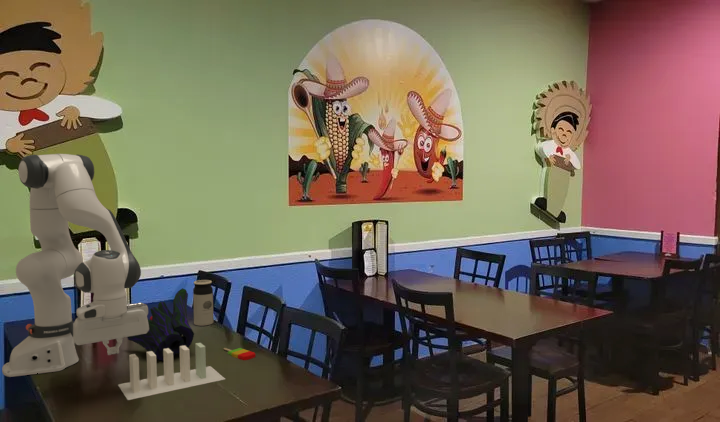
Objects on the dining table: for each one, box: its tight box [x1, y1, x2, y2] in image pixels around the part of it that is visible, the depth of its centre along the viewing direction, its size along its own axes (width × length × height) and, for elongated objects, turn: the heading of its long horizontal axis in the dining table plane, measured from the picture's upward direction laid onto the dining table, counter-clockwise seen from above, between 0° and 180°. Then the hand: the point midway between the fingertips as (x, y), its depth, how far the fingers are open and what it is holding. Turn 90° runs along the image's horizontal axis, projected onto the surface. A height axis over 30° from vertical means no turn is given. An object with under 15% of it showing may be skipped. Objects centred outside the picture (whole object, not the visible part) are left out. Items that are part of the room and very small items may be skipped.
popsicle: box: [223, 347, 256, 361], centre depth 206 cm, size 6×15×2 cm, turn 50°
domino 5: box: [194, 342, 207, 379], centre depth 183 cm, size 2×5×10 cm, turn 33°
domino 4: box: [179, 345, 191, 382], centre depth 181 cm, size 2×5×10 cm, turn 34°
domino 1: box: [128, 353, 140, 393], centre depth 172 cm, size 2×5×10 cm, turn 33°
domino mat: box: [117, 365, 226, 401], centre depth 179 cm, size 29×14×1 cm, turn 124°
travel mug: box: [192, 279, 214, 327], centre depth 245 cm, size 8×8×18 cm
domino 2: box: [146, 351, 158, 389], centre depth 175 cm, size 2×5×10 cm, turn 34°
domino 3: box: [163, 348, 175, 385], centre depth 178 cm, size 2×5×10 cm, turn 33°
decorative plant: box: [126, 288, 195, 362], centre depth 210 cm, size 21×26×30 cm
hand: (113, 353), depth 168 cm, fingers closed
